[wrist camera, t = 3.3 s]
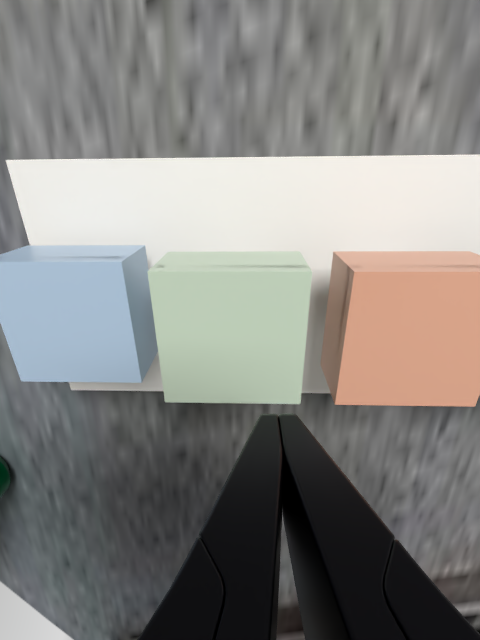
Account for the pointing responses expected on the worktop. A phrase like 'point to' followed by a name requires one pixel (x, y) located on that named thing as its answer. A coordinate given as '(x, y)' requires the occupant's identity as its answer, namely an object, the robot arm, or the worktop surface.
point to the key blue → (78, 312)
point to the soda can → (4, 476)
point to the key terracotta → (403, 328)
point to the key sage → (231, 325)
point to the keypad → (254, 214)
